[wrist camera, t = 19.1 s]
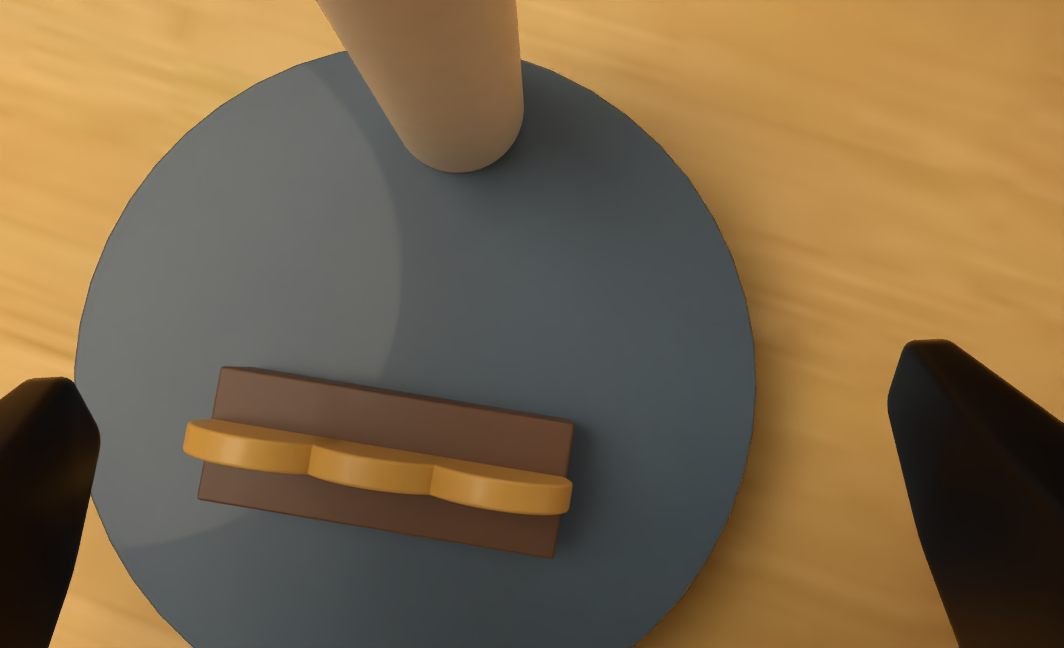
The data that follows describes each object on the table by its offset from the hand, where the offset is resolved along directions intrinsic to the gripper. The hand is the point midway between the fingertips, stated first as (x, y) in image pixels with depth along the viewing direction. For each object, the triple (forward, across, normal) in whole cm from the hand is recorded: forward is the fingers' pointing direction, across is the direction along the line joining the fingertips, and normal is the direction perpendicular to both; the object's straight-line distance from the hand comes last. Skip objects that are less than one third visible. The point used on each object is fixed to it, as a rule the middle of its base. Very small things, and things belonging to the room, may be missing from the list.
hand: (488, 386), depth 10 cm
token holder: (+6, +2, +6) cm, 9 cm away
